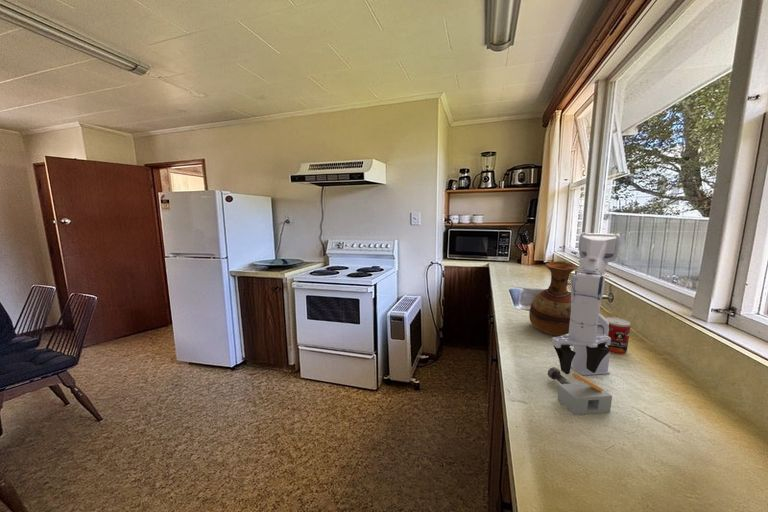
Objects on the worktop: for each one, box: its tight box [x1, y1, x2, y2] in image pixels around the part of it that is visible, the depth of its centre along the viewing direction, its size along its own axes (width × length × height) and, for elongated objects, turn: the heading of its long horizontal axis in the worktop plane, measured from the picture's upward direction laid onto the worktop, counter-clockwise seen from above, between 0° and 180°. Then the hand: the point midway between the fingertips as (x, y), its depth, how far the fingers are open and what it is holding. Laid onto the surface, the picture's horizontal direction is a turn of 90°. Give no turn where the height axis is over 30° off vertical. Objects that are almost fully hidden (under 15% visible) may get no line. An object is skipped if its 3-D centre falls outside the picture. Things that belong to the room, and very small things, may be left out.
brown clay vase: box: [528, 260, 578, 336], centre depth 124 cm, size 20×20×30 cm
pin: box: [547, 367, 572, 384], centre depth 83 cm, size 11×3×3 cm, turn 6°
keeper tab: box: [571, 372, 604, 392], centre depth 76 cm, size 8×3×1 cm
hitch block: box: [556, 381, 613, 416], centre depth 77 cm, size 10×6×5 cm, turn 96°
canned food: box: [605, 316, 631, 355], centre depth 108 cm, size 8×8×11 cm
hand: (578, 371), depth 75 cm, fingers open, 7 cm apart
